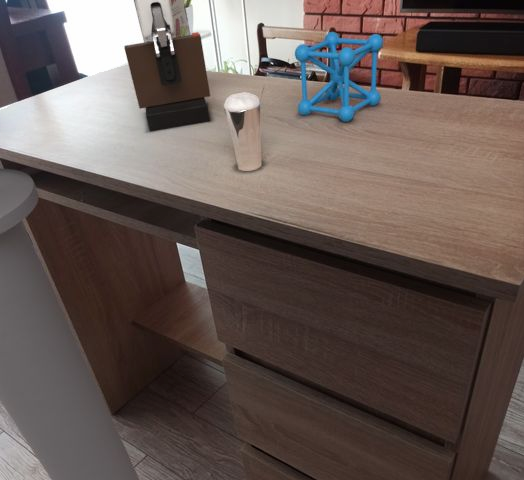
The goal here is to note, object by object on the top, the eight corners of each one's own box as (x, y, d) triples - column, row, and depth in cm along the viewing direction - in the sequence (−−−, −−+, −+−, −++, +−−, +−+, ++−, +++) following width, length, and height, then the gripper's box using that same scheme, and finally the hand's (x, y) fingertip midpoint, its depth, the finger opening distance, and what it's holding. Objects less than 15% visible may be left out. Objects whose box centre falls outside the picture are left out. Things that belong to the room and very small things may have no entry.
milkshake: (269, 173, 68) (261, 90, 61) (229, 174, 69) (217, 93, 62) (274, 158, 71) (267, 79, 64) (237, 160, 72) (226, 82, 65)
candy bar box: (177, 78, 108) (158, -17, 97) (199, 77, 107) (182, -20, 96) (154, 95, 100) (131, -6, 89) (177, 95, 99) (157, -8, 88)
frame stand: (149, 131, 85) (145, 115, 83) (148, 113, 92) (144, 98, 91) (209, 121, 86) (207, 105, 84) (203, 103, 93) (201, 88, 91)
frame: (139, 108, 86) (123, 46, 80) (139, 105, 87) (123, 43, 81) (210, 96, 87) (200, 33, 81) (209, 93, 88) (199, 31, 82)
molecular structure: (383, 104, 83) (386, 32, 76) (348, 125, 78) (349, 50, 71) (330, 97, 88) (329, 29, 82) (295, 116, 83) (291, 45, 76)
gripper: (116, -58, 79) (145, 68, 91) (114, -50, 67) (148, 95, 78) (164, -65, 80) (187, 61, 92) (172, -59, 67) (197, 87, 79)
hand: (169, 76), depth 85 cm, fingers open, 8 cm apart
